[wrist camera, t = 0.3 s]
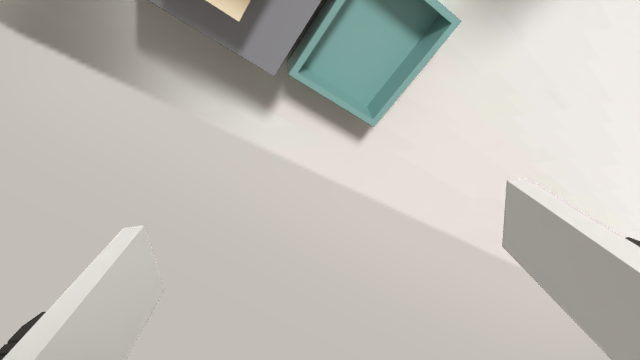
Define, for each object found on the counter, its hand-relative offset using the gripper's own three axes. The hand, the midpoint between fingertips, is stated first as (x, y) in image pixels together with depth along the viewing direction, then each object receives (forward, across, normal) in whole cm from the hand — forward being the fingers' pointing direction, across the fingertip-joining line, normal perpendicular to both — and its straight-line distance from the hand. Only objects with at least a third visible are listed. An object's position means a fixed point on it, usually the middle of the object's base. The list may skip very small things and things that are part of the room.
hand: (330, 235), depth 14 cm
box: (+26, +6, +6) cm, 27 cm away
